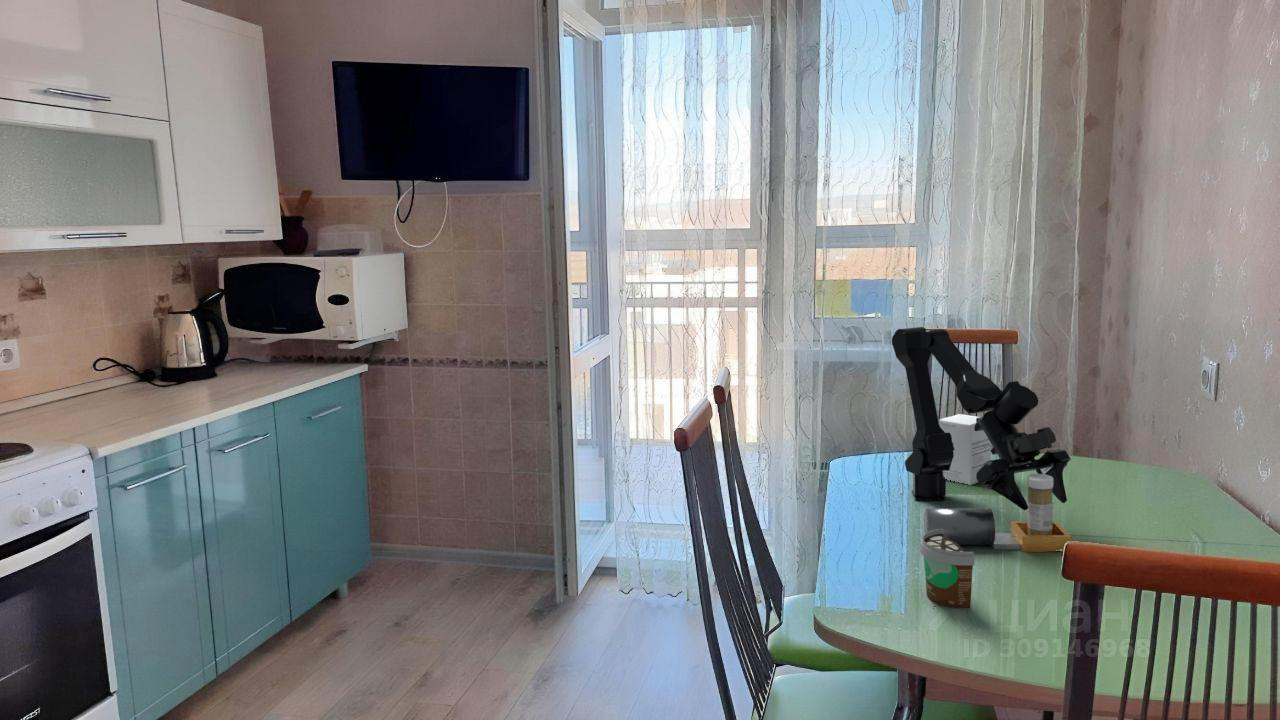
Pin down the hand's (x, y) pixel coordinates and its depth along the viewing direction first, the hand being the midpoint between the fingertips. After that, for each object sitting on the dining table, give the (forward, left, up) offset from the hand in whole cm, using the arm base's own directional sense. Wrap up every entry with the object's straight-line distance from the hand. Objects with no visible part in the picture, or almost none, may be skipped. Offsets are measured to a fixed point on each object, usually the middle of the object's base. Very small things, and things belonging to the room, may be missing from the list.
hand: (1045, 505), depth 165 cm
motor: (-9, +1, -8) cm, 12 cm away
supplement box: (-6, +46, -8) cm, 47 cm away
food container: (-24, -25, -8) cm, 35 cm away
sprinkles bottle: (-1, +1, -8) cm, 8 cm away
